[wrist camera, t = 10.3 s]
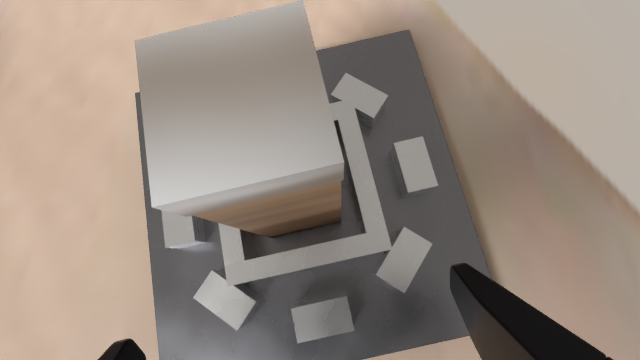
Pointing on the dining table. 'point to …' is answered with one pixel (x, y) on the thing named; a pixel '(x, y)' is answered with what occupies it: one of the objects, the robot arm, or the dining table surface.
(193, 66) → the tan tall block
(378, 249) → the grey square base plate
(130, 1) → the dining table surface
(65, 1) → the dining table surface
